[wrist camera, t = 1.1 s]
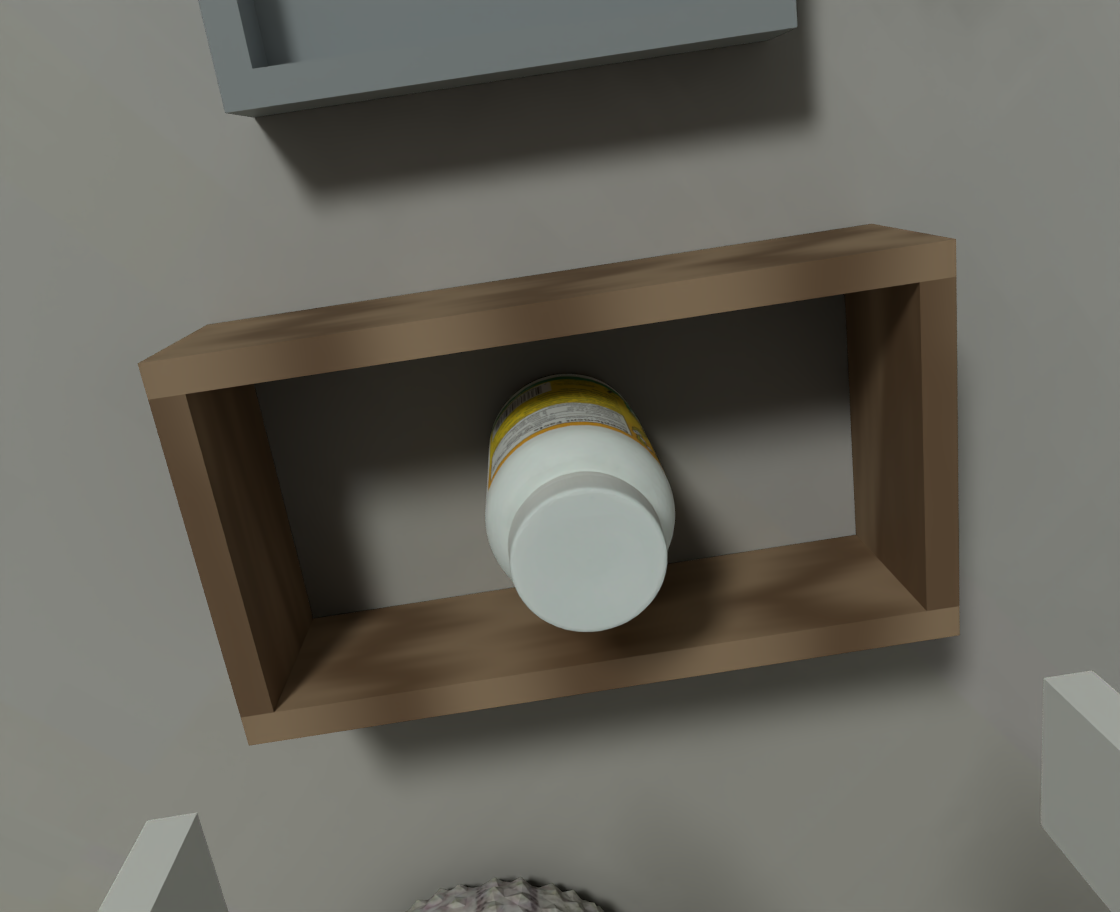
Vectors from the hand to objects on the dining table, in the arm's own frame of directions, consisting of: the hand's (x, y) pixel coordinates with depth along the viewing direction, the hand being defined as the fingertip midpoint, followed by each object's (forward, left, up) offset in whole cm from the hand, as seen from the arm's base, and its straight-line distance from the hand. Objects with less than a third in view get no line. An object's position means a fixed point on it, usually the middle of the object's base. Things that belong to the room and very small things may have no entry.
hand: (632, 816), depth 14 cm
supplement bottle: (0, 0, -19) cm, 19 cm away
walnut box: (0, 0, -19) cm, 19 cm away
